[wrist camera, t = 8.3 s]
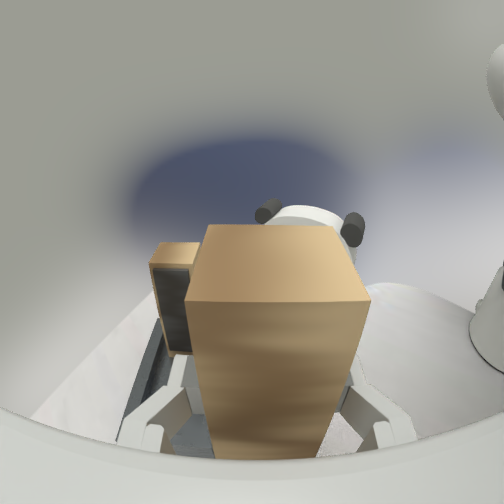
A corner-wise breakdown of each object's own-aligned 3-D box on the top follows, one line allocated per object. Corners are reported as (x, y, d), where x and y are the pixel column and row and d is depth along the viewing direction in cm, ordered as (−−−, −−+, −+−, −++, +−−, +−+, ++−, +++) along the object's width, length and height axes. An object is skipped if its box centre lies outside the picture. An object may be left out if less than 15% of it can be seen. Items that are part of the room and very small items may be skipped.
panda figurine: (350, 305, 42) (369, 203, 35) (334, 362, 33) (360, 242, 25) (270, 286, 46) (274, 188, 39) (237, 335, 37) (234, 219, 30)
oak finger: (296, 417, 16) (330, 221, 10) (302, 483, 12) (370, 300, 6) (226, 417, 16) (210, 219, 10) (222, 484, 12) (184, 300, 6)
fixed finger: (209, 334, 35) (199, 242, 30) (204, 361, 31) (191, 266, 26) (176, 332, 35) (160, 242, 30) (168, 359, 31) (147, 265, 26)
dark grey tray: (235, 327, 38) (235, 312, 37) (225, 459, 22) (223, 448, 21) (158, 323, 38) (155, 309, 37) (118, 445, 22) (109, 433, 21)
